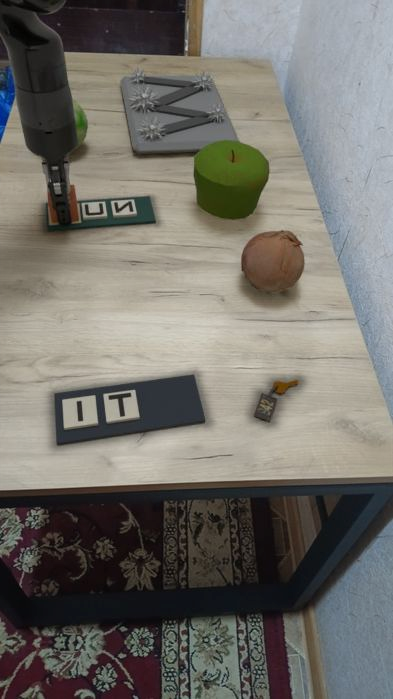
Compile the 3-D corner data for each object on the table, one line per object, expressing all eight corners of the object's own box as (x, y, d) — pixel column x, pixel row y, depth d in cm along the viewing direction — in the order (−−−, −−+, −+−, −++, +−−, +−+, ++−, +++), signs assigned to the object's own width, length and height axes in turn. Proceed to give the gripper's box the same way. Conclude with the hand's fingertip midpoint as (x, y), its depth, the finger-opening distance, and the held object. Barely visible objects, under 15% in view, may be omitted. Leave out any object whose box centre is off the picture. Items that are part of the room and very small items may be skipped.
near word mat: (57, 445, 58) (55, 440, 57) (54, 395, 62) (53, 390, 61) (205, 422, 61) (206, 417, 60) (193, 376, 65) (194, 371, 64)
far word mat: (47, 231, 81) (46, 225, 80) (46, 205, 85) (44, 199, 84) (155, 223, 84) (155, 217, 83) (149, 198, 88) (149, 192, 87)
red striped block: (52, 222, 81) (47, 201, 78) (51, 206, 84) (46, 185, 80) (79, 220, 82) (76, 199, 79) (77, 204, 84) (74, 183, 81)
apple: (190, 228, 84) (194, 169, 75) (191, 186, 91) (195, 127, 82) (262, 232, 84) (275, 174, 75) (258, 190, 92) (269, 132, 83)
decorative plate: (241, 154, 99) (246, 120, 93) (133, 158, 95) (132, 122, 90) (211, 84, 116) (214, 51, 111) (120, 85, 113) (118, 51, 107)
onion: (275, 282, 81) (305, 228, 76) (292, 313, 74) (327, 256, 69) (224, 266, 78) (252, 208, 73) (237, 296, 71) (270, 234, 66)
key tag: (267, 424, 61) (268, 422, 61) (247, 411, 62) (248, 409, 62) (299, 381, 66) (300, 379, 65) (279, 370, 67) (280, 367, 66)
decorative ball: (36, 162, 92) (25, 110, 84) (40, 134, 98) (31, 82, 90) (89, 163, 93) (83, 111, 85) (91, 135, 99) (85, 84, 91)
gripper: (19, 90, 73) (40, 189, 86) (19, 142, 64) (42, 243, 78) (71, 88, 74) (84, 187, 88) (77, 139, 66) (90, 239, 79)
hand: (64, 213), depth 83 cm, fingers closed on red striped block, 4 cm apart
